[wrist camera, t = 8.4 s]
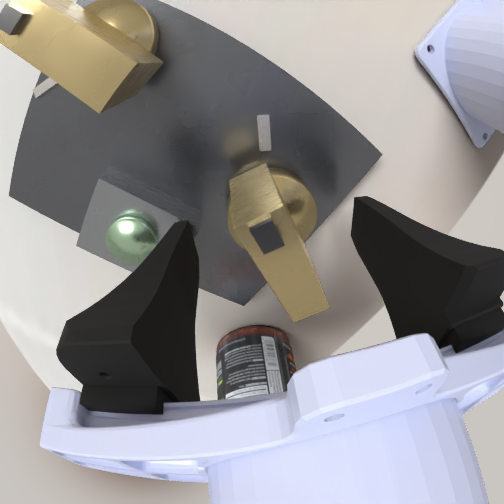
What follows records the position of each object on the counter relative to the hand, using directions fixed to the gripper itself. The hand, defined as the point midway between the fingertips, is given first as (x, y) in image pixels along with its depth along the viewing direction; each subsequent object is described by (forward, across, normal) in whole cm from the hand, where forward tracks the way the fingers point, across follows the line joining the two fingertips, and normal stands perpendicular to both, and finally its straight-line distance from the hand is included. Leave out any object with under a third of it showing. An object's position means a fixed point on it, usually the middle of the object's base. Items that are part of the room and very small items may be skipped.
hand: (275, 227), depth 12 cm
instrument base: (+3, +4, -3) cm, 6 cm away
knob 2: (+2, 0, 0) cm, 2 cm away
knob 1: (+2, +6, -9) cm, 11 cm away
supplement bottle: (+3, +2, +13) cm, 13 cm away
